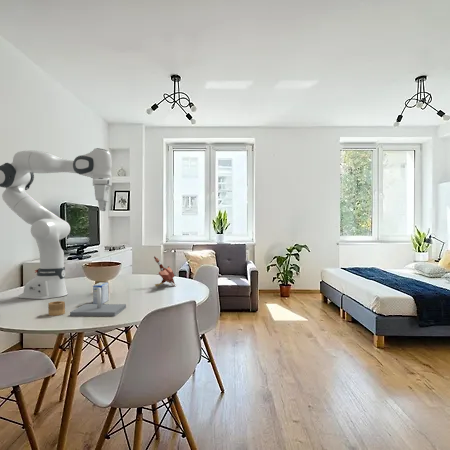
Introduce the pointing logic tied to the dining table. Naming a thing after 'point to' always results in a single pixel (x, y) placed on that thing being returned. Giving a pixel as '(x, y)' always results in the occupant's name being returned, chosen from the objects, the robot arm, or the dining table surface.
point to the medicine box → (103, 292)
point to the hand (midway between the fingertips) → (102, 210)
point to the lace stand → (98, 308)
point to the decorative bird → (165, 273)
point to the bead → (56, 308)
